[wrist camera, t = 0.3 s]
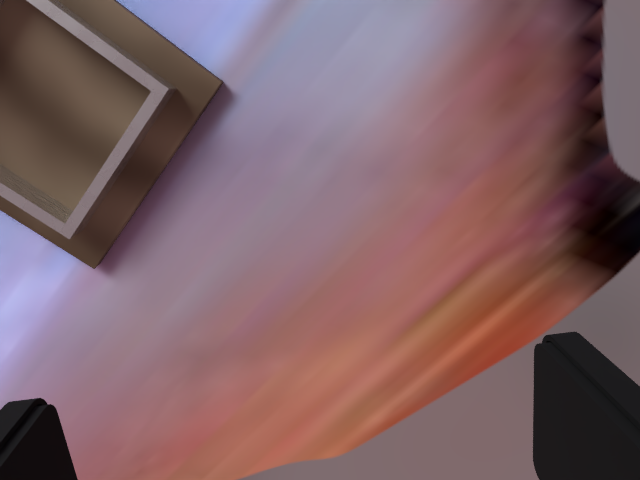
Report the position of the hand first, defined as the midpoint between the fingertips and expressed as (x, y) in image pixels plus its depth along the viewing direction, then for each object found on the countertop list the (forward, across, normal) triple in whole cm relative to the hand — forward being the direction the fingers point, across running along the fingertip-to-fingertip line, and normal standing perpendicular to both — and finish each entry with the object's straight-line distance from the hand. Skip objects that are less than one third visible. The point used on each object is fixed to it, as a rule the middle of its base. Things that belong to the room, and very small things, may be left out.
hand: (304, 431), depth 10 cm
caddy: (+31, +16, -7) cm, 35 cm away
